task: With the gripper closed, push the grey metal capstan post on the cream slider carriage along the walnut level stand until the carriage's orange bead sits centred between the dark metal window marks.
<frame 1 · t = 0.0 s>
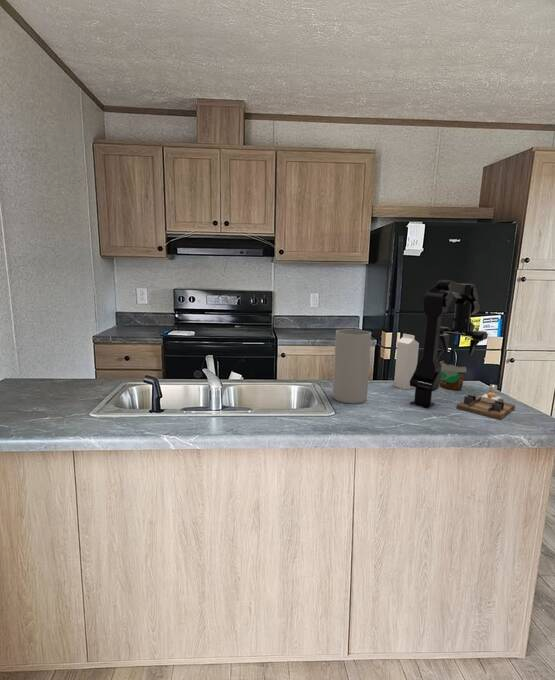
hand: (458, 354, 159), 15 cm above the countertop, fingers open, 9 cm apart
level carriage: (491, 393, 142), point 5 cm above the countertop, slide at 0.0 cm
food container: (446, 388, 164), on the countertop
milk: (404, 387, 163), on the countertop
cylinder vase: (349, 399, 147), on the countertop
level stand: (484, 409, 139), on the countertop
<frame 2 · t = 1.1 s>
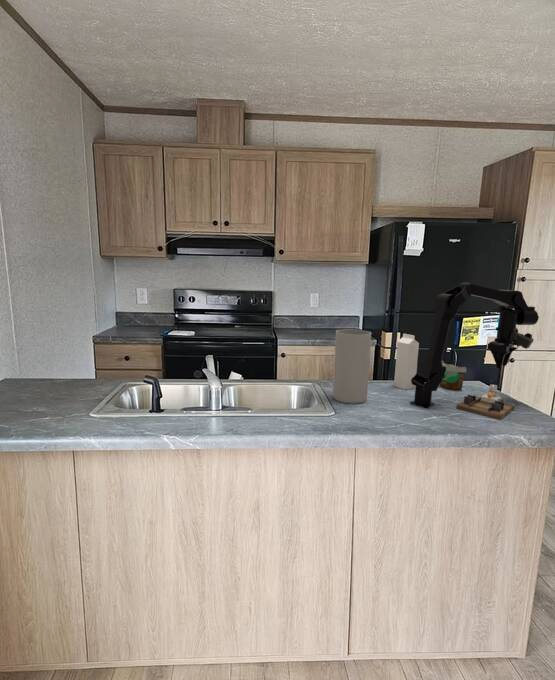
hand: (501, 367, 146), 13 cm above the countertop, fingers open, 6 cm apart
nothing on the countertop moved.
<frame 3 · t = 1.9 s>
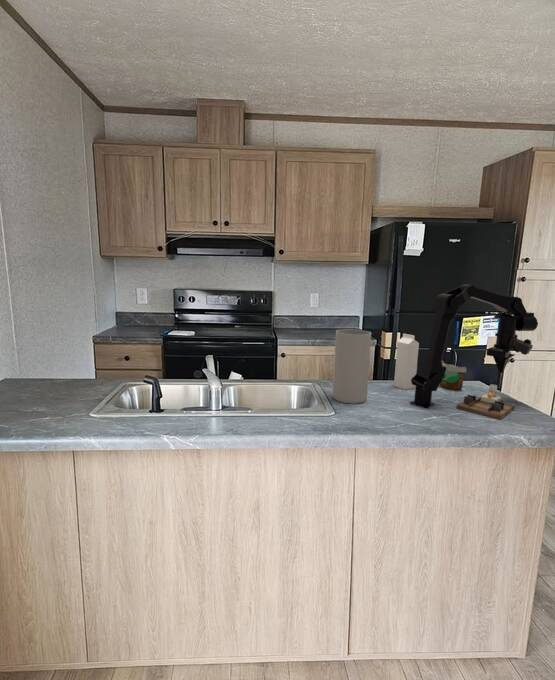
hand: (501, 372, 146), 11 cm above the countertop, fingers closed
nothing on the countertop moved.
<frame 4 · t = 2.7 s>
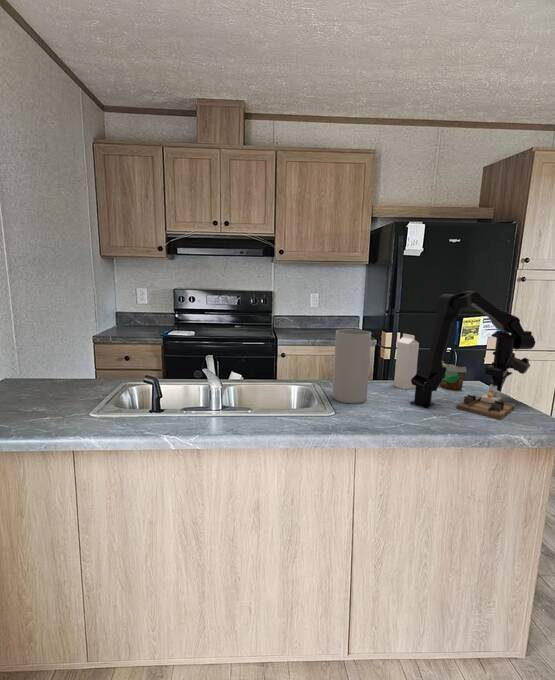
hand: (498, 390, 147), 4 cm above the countertop, fingers closed
nothing on the countertop moved.
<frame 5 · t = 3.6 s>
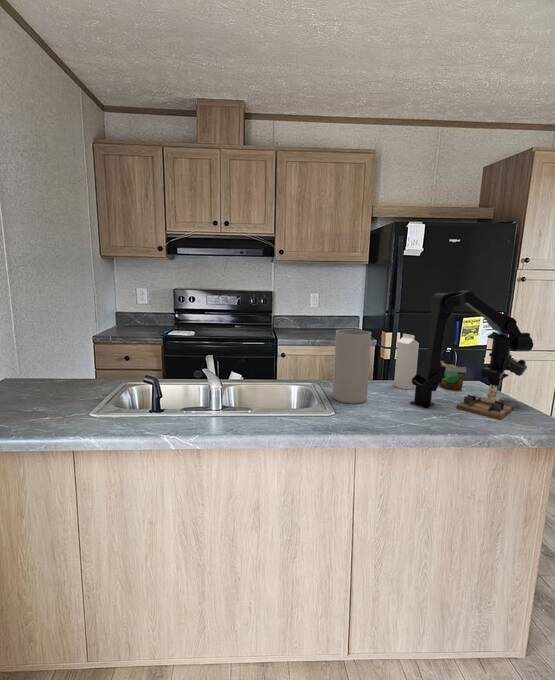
hand: (495, 392, 145), 4 cm above the countertop, fingers closed
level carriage: (491, 393, 142), point 5 cm above the countertop, slide at 0.1 cm, touching gripper
everything else where it was.
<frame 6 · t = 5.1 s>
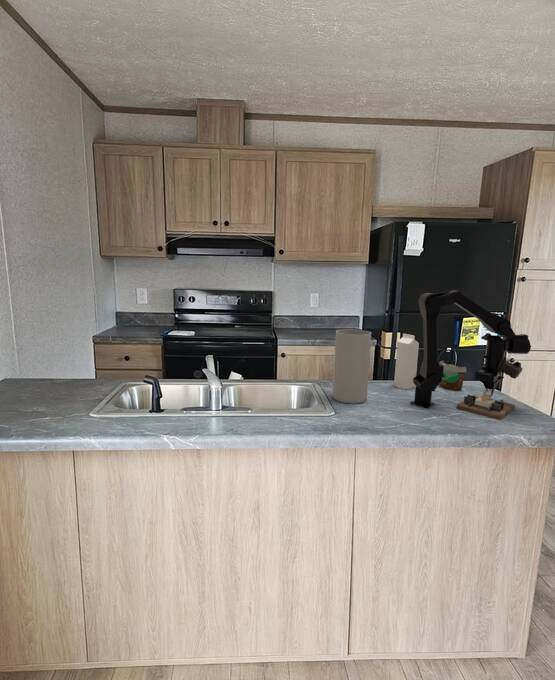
hand: (489, 395, 141), 4 cm above the countertop, fingers closed
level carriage: (485, 396, 137), point 5 cm above the countertop, slide at 6.0 cm, touching gripper
everything else where it was.
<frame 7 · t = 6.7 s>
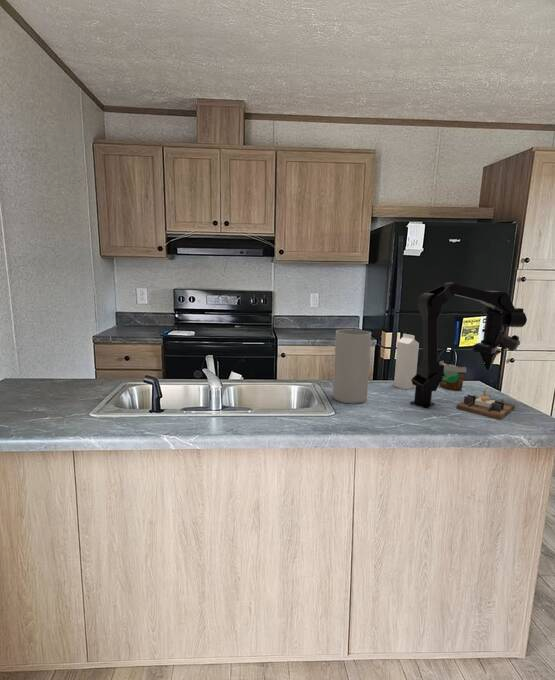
hand: (488, 369, 143), 13 cm above the countertop, fingers closed
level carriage: (485, 396, 137), point 5 cm above the countertop, slide at 6.0 cm
everything else where it was.
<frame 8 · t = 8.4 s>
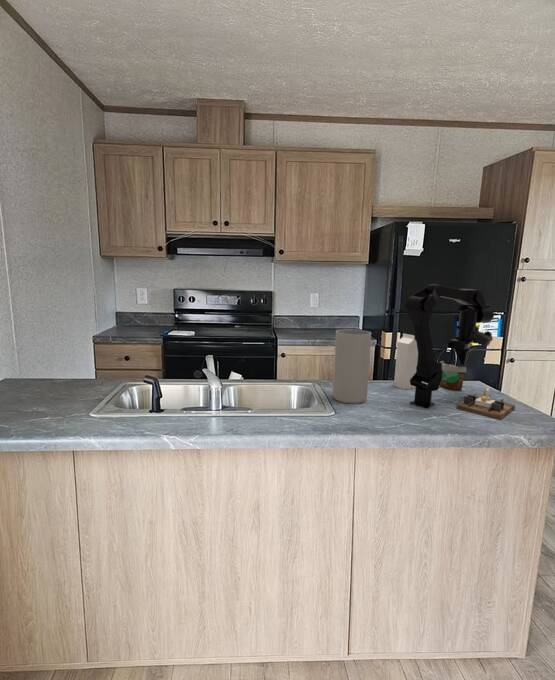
hand: (463, 364, 148), 13 cm above the countertop, fingers closed
nothing on the countertop moved.
at the end: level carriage slide at 6.0 cm; milk moved 0.2 cm from its start; food container moved 0.2 cm from its start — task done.
